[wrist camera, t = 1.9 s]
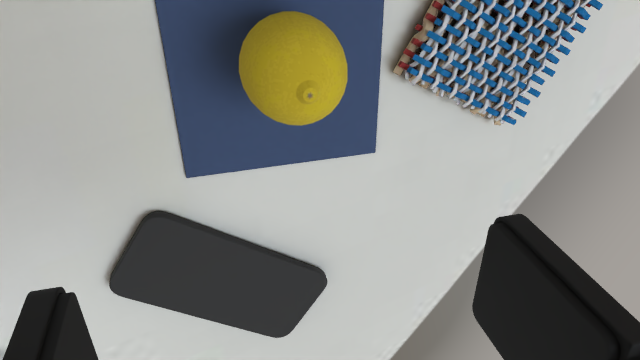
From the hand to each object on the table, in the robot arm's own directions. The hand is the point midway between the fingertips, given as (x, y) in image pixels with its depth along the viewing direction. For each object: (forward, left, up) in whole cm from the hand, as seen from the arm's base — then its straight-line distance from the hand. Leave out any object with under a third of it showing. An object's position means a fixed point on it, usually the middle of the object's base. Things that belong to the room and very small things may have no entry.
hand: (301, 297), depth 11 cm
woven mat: (0, +17, -21) cm, 27 cm away
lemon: (0, +3, -21) cm, 21 cm away
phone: (+17, -2, -21) cm, 27 cm away
